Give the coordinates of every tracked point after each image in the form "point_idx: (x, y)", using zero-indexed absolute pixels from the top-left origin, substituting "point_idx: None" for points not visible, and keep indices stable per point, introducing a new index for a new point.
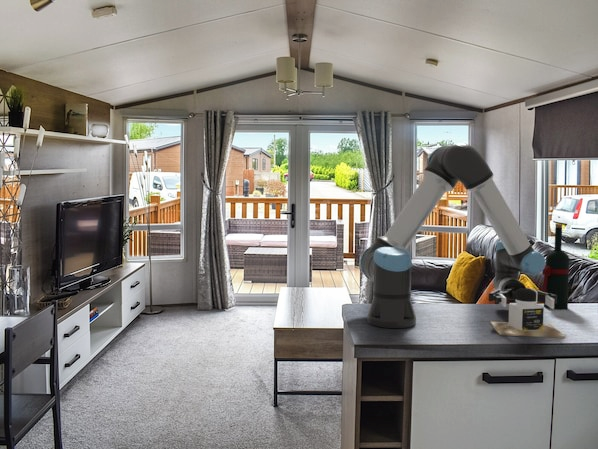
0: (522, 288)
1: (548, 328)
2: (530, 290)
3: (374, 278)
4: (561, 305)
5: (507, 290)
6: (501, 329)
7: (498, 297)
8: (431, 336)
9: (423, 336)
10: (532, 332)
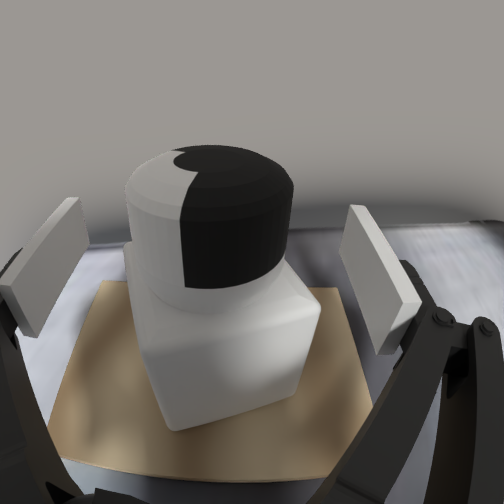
0: (239, 167)
1: (99, 367)
2: (197, 146)
3: None
4: None
5: (359, 494)
6: (331, 331)
7: (406, 268)
8: (484, 262)
9: (495, 261)
10: None
